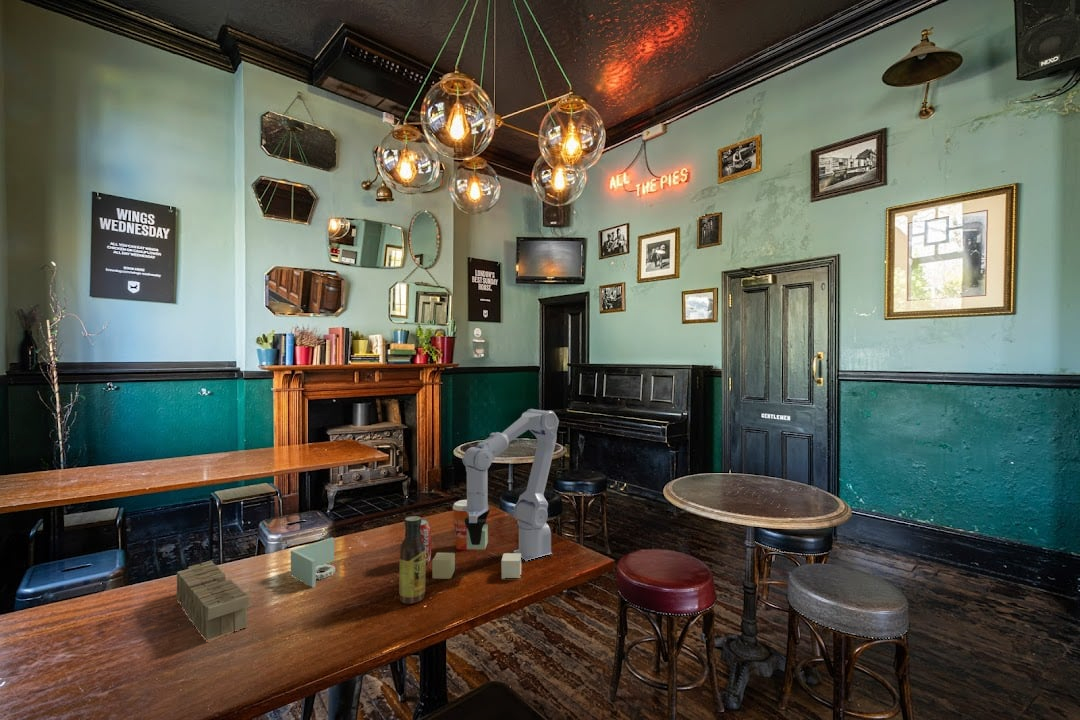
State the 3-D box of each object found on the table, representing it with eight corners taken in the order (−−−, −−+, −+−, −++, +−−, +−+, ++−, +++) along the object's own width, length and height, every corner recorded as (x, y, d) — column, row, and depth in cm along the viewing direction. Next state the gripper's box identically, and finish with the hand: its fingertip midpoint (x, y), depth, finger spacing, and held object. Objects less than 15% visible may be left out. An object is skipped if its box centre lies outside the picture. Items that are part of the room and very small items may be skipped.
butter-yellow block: (454, 570, 131) (454, 552, 131) (450, 578, 126) (450, 560, 126) (437, 570, 131) (437, 552, 131) (432, 578, 126) (432, 560, 126)
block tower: (175, 604, 115) (206, 647, 96) (174, 570, 116) (206, 606, 96) (213, 592, 121) (249, 631, 102) (212, 559, 121) (249, 592, 102)
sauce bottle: (418, 606, 111) (417, 524, 111) (394, 604, 113) (394, 522, 113) (430, 593, 118) (429, 515, 118) (407, 591, 119) (407, 513, 119)
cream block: (521, 571, 130) (521, 553, 130) (520, 579, 125) (519, 561, 125) (503, 571, 130) (503, 553, 130) (501, 579, 125) (501, 560, 125)
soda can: (434, 558, 139) (433, 518, 139) (426, 568, 132) (425, 526, 132) (411, 557, 140) (411, 517, 140) (402, 567, 133) (401, 525, 133)
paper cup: (448, 550, 145) (448, 505, 145) (459, 541, 152) (459, 498, 152) (471, 553, 143) (470, 507, 143) (481, 543, 150) (481, 500, 150)
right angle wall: (312, 590, 121) (312, 561, 121) (290, 577, 128) (290, 550, 128) (354, 573, 130) (354, 546, 130) (332, 562, 138) (332, 537, 138)
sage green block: (487, 542, 131) (487, 524, 131) (485, 549, 126) (485, 530, 126) (470, 542, 131) (470, 524, 131) (466, 549, 126) (466, 530, 126)
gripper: (467, 484, 136) (468, 530, 136) (457, 498, 121) (457, 550, 121) (491, 484, 135) (492, 530, 135) (484, 498, 121) (484, 551, 121)
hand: (477, 540), depth 128 cm, fingers closed on sage green block, 5 cm apart
